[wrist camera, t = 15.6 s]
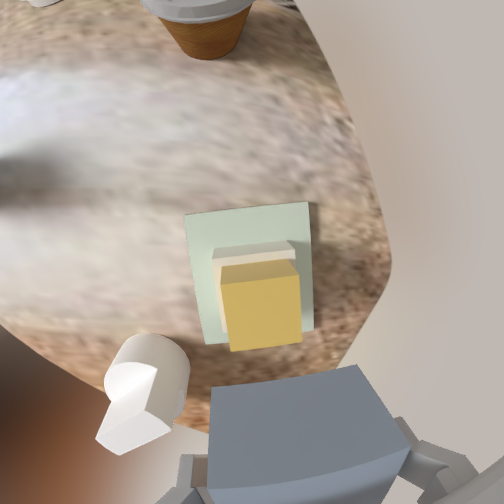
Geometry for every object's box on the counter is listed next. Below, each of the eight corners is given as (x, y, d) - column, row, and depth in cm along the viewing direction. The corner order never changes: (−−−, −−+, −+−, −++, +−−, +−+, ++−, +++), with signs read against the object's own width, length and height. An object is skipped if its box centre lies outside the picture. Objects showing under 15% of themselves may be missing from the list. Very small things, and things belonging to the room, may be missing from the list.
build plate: (184, 214, 28) (183, 215, 27) (305, 201, 28) (308, 201, 27) (206, 340, 31) (205, 344, 30) (311, 326, 32) (313, 330, 31)
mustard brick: (221, 266, 24) (220, 284, 20) (286, 258, 24) (299, 274, 20) (230, 324, 25) (230, 351, 21) (290, 316, 26) (302, 341, 21)
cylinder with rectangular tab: (158, 401, 33) (140, 470, 21) (106, 356, 31) (69, 420, 19) (206, 369, 32) (199, 445, 20) (151, 318, 30) (117, 385, 18)
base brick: (213, 248, 28) (211, 259, 24) (285, 239, 28) (294, 249, 24) (223, 314, 29) (222, 332, 25) (290, 305, 30) (298, 322, 26)
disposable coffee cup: (266, 18, 23) (286, -50, 12) (233, 84, 25) (237, 26, 13) (187, -2, 22) (173, -68, 10) (149, 62, 24) (110, 5, 12)
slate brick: (211, 387, 10) (206, 489, 5) (356, 364, 10) (411, 445, 5) (232, 466, 11) (237, 542, 6) (344, 447, 11) (373, 515, 7)
